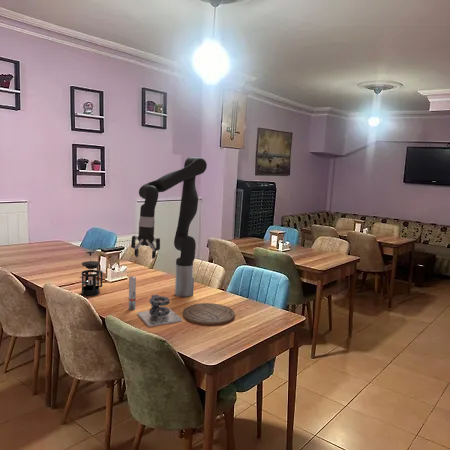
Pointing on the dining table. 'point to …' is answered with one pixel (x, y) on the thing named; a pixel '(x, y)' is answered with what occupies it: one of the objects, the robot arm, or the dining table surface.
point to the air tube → (132, 293)
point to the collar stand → (159, 312)
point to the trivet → (208, 314)
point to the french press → (90, 285)
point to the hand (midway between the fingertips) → (144, 257)
